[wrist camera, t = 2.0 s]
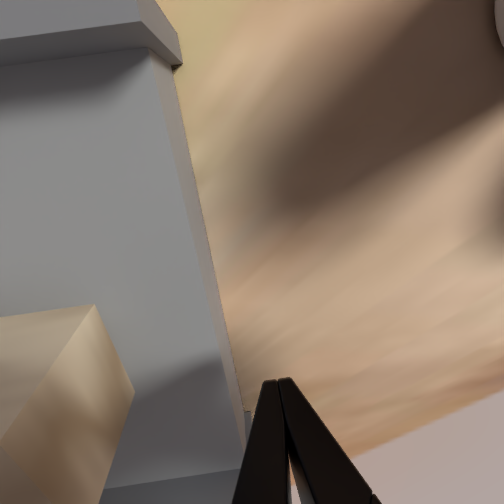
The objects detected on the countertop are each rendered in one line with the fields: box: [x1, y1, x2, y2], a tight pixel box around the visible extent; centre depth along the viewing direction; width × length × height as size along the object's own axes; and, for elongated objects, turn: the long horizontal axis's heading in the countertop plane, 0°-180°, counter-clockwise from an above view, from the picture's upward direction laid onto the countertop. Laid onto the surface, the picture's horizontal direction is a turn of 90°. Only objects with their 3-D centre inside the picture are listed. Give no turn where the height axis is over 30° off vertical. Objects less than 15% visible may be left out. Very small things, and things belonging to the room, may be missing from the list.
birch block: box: [0, 304, 135, 504], centre depth 9 cm, size 4×4×4 cm
